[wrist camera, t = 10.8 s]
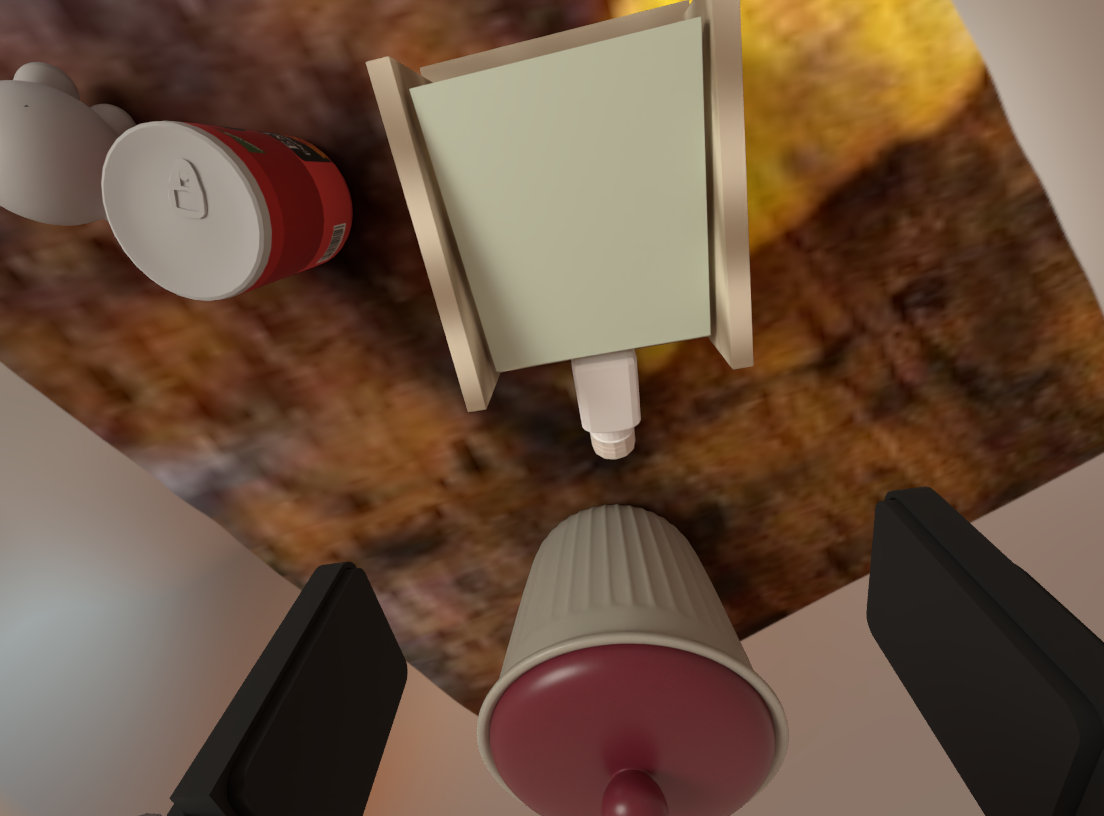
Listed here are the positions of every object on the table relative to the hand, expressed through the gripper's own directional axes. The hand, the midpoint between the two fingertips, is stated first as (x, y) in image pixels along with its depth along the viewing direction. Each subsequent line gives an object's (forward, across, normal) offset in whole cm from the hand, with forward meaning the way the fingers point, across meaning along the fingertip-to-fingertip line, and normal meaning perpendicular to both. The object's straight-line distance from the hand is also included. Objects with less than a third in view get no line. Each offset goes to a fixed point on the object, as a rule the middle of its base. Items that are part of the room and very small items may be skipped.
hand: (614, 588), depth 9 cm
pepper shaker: (+24, 0, +3) cm, 24 cm away
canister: (+28, +2, +24) cm, 37 cm away
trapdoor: (+21, 0, -5) cm, 21 cm away
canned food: (+29, +18, -8) cm, 35 cm away
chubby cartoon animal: (+29, +27, -12) cm, 41 cm away
